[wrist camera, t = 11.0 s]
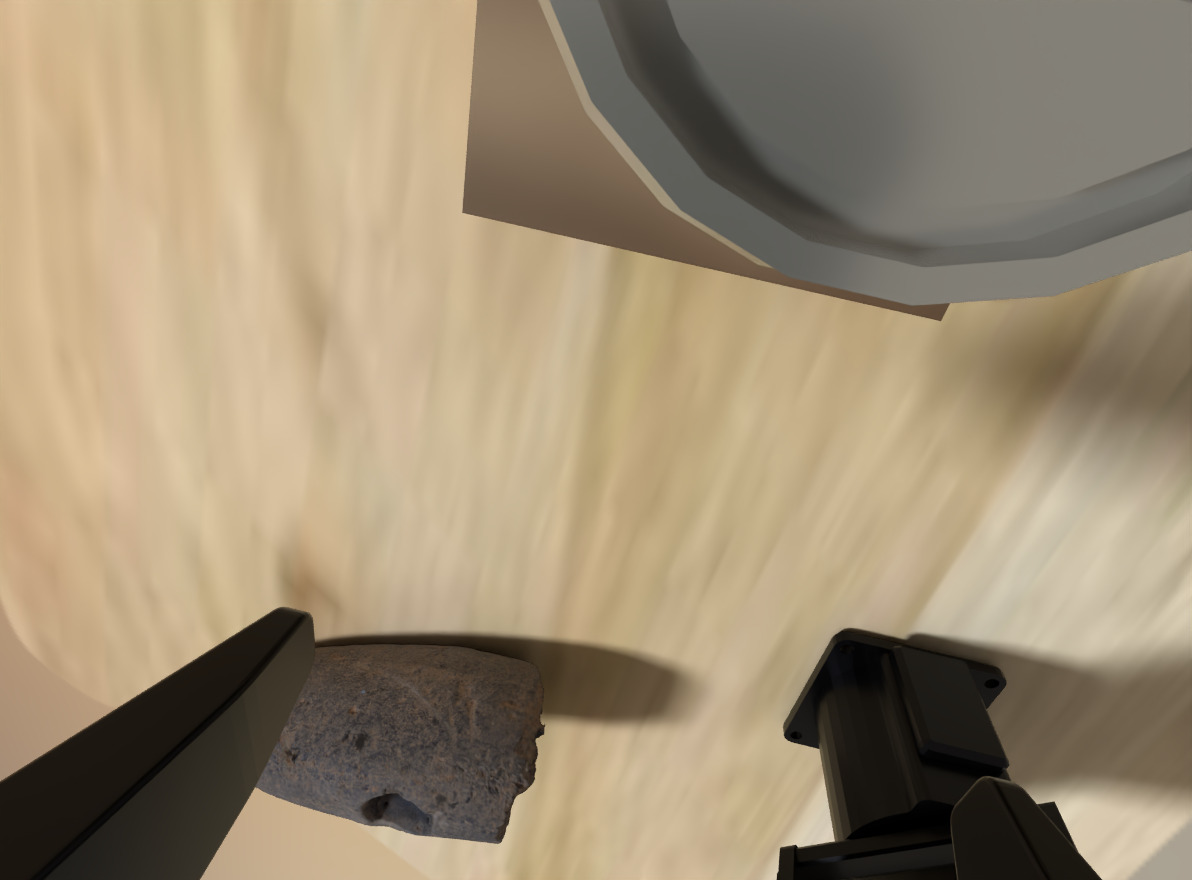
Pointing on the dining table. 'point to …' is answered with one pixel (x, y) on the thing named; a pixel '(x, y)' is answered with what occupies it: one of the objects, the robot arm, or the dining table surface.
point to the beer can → (903, 133)
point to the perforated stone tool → (412, 739)
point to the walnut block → (576, 160)
